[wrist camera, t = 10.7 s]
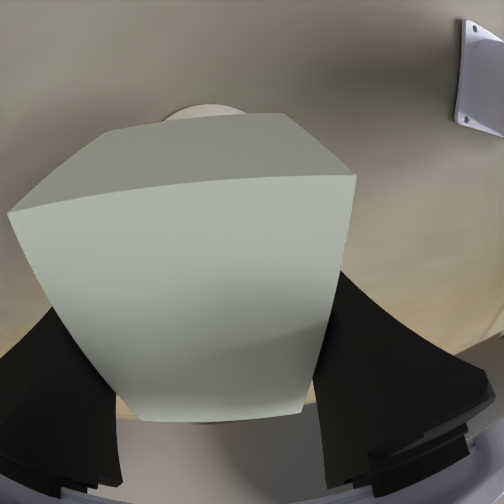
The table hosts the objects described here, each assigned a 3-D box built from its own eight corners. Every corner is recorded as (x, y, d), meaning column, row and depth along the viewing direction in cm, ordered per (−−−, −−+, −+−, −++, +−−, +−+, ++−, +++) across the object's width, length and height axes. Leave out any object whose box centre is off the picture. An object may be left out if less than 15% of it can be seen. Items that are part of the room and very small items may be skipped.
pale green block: (283, 112, 8) (357, 175, 4) (277, 304, 13) (300, 412, 9) (105, 131, 8) (7, 213, 4) (155, 312, 13) (141, 420, 9)
